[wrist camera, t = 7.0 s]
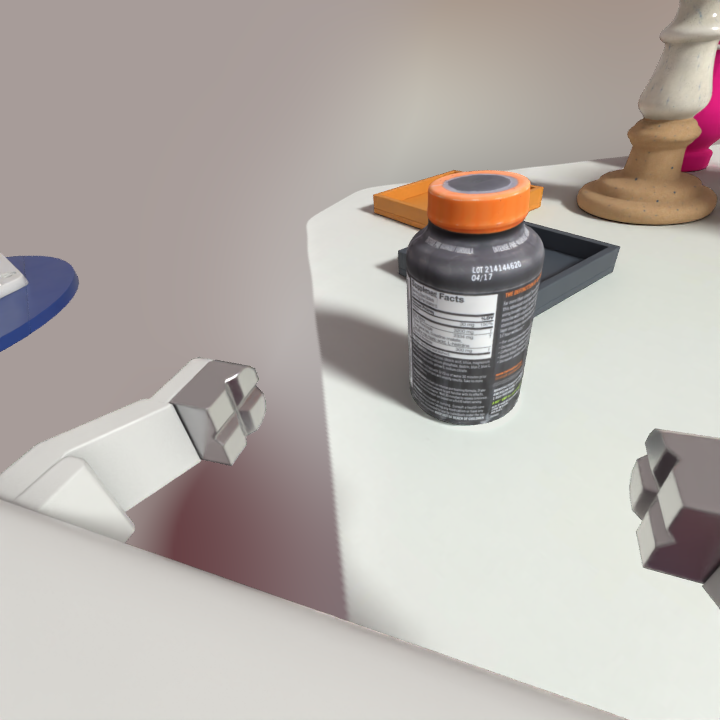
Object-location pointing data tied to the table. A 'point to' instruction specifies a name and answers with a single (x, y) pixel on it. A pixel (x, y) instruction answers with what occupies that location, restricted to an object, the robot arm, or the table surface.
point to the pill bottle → (472, 296)
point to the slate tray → (562, 264)
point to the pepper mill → (705, 127)
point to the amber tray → (423, 201)
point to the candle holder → (665, 130)
